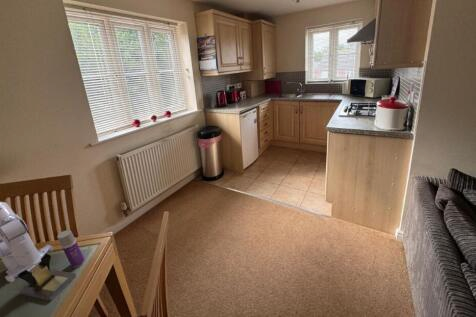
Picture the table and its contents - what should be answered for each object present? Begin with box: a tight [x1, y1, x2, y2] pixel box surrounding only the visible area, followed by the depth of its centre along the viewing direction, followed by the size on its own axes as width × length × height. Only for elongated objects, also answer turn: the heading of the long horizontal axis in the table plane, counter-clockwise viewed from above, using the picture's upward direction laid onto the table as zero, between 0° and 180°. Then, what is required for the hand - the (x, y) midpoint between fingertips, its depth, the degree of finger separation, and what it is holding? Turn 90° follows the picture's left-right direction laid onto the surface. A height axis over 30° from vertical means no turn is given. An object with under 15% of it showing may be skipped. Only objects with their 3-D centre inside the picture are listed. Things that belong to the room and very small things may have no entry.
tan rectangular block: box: [28, 264, 53, 289], centre depth 86 cm, size 4×4×7 cm
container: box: [56, 229, 86, 269], centre depth 92 cm, size 5×5×15 cm
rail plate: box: [18, 268, 77, 302], centre depth 86 cm, size 14×10×2 cm
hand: (40, 278), depth 86 cm, fingers closed on tan rectangular block, 4 cm apart
